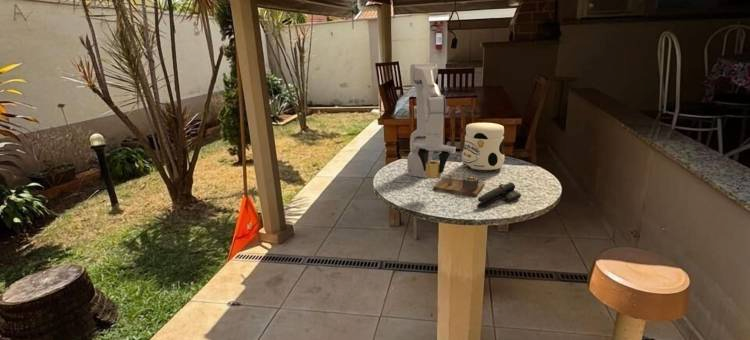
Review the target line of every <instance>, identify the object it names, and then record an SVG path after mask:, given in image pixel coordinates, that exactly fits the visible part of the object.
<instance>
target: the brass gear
mask: <svg viewBox="0 0 750 340" xmlns="http://www.w3.org/2000/svg"><path fill="white" fill-rule="evenodd" d="M439 170H440V160H432V161H428V162H427V163H426V176H427V177H428V178H427V179H432V180H433V179H435V180H436V179H439V178H441V177H442V173H440V171H439Z"/></svg>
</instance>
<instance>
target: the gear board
mask: <svg viewBox="0 0 750 340" xmlns="http://www.w3.org/2000/svg"><path fill="white" fill-rule="evenodd" d="M484 188H485V183H484V182H479V178H477V177H475V176H465V177H464V178H463V179H457V178H453V174H452V173H449V174H448V177H442V178H441V179H440V180H439V181H437V183H435V185H434V186H433V187H432V190H433V191H438V192H445V193H451V194H456V195H463V196H469V197H478V196H479V194H480V193H481V192H482V190H483V189H484Z"/></svg>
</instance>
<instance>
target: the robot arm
mask: <svg viewBox="0 0 750 340" xmlns="http://www.w3.org/2000/svg"><path fill="white" fill-rule="evenodd" d="M409 67H410V68H409V75H410V76H409V78H410V79H409V80H410V86H411V87H414V89H415V91H416V92H415V93H416V97H415V98H416V129H415V130H414V131H413V132H412V133H411V134H410V137H409V138H410V139H409V149H410V152H409V153H408V154H407V163H406V165H407V167H406V168H407V169H406V170H407V171H406V172H407V173H406V176H412V177H419V178H426V179H429V178H428V177H427V176H426V163H427V162H428V161H433V158H432V157H433V154H434V153H435V152H437V153H438V152H439V154H438V157H439V162H440V170H439V171H440V173H441V174H442V173H444V171H445V170H444V169H445V167H446V163H447V160H448V158H449V157H450V155H454V154H455V153H456V152H457V151H456V149H457V147H456V146H452V145H451V146H450V145H446V144H443V143H444V119H445V118H444V115H445V114H446V111H447V101H446V97H445V95H443V94H441V91H440V88H439V85H438V84H436V81H437V78H438V73H439V69H438V68H439V67H438V64H437V63H436V62H433V63H426V62H425V63H411V64H410V66H409Z"/></svg>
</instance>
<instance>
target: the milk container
mask: <svg viewBox="0 0 750 340" xmlns="http://www.w3.org/2000/svg"><path fill="white" fill-rule="evenodd" d="M464 133H465V134H464V146H463V151H462V153H461V162H462V165H463V166H464V167H465V168H467V169H469V170H472V171H477V172H492V171H493V172H495V171H497V170H500V169H501V168H502V167H503V166H504V163H505V151H504V141H505V140H504V139H505V127H504V125H501V124H499V123H493V122H472V123H468V124H466V126H465V131H464Z"/></svg>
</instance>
